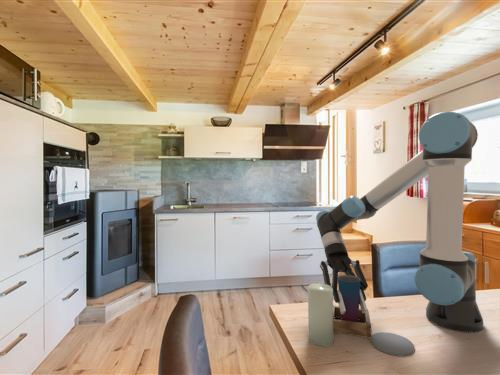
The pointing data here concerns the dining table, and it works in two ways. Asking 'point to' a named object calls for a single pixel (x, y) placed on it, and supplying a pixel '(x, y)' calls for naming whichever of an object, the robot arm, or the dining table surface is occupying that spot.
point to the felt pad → (392, 344)
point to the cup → (350, 296)
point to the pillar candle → (320, 314)
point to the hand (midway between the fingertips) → (354, 312)
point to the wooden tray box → (352, 324)
